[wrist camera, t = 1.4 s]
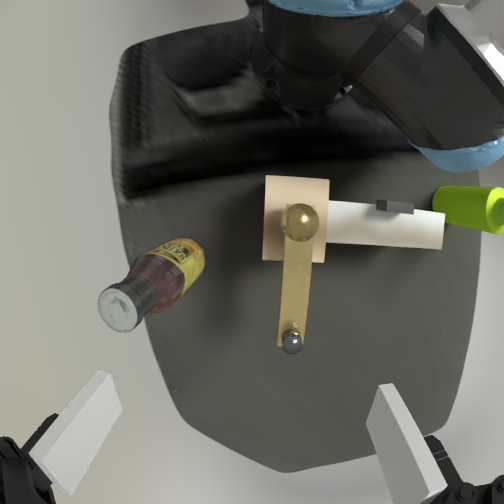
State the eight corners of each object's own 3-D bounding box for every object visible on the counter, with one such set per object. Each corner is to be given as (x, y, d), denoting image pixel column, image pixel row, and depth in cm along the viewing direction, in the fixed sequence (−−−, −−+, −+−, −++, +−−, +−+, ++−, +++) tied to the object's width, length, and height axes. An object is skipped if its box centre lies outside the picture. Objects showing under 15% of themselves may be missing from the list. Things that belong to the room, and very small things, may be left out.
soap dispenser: (425, 219, 37) (518, 240, 17) (438, 179, 35) (531, 179, 16) (449, 233, 37) (537, 261, 17) (461, 196, 36) (551, 205, 16)
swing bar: (281, 201, 24) (283, 202, 21) (317, 204, 24) (324, 205, 21) (272, 337, 27) (273, 354, 24) (304, 338, 27) (308, 355, 24)
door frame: (265, 181, 37) (266, 173, 23) (400, 193, 36) (459, 196, 22) (263, 240, 39) (262, 266, 24) (395, 247, 38) (451, 272, 24)
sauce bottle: (206, 235, 39) (152, 274, 19) (208, 278, 40) (162, 349, 21) (162, 236, 39) (83, 272, 20) (166, 278, 40) (97, 340, 21)
